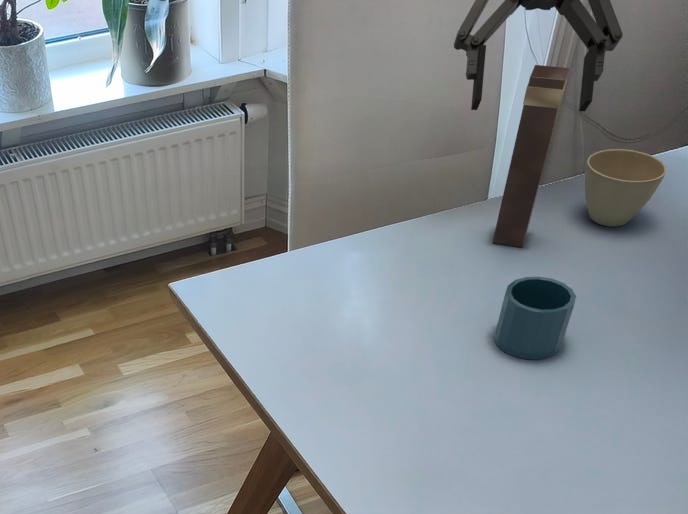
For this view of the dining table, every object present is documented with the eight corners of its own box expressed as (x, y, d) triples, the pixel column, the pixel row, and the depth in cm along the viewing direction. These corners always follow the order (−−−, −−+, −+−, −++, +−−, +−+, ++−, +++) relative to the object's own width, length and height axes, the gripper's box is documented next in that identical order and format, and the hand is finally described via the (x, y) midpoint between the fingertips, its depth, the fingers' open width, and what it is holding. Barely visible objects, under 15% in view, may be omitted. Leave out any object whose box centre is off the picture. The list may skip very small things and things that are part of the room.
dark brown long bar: (527, 233, 120) (570, 67, 104) (522, 248, 118) (565, 80, 102) (496, 229, 121) (534, 64, 106) (491, 243, 119) (529, 76, 103)
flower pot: (626, 243, 118) (645, 188, 112) (558, 220, 122) (573, 166, 116) (659, 215, 122) (679, 161, 117) (592, 195, 127) (608, 141, 121)
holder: (564, 330, 105) (579, 282, 101) (555, 364, 101) (571, 317, 96) (500, 318, 107) (512, 272, 102) (489, 352, 103) (501, 305, 98)
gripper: (638, -55, 112) (620, 121, 115) (440, -54, 115) (427, 118, 117) (663, -97, 105) (643, 91, 107) (450, -96, 107) (436, 89, 110)
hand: (530, 105), depth 112 cm, fingers open, 13 cm apart
